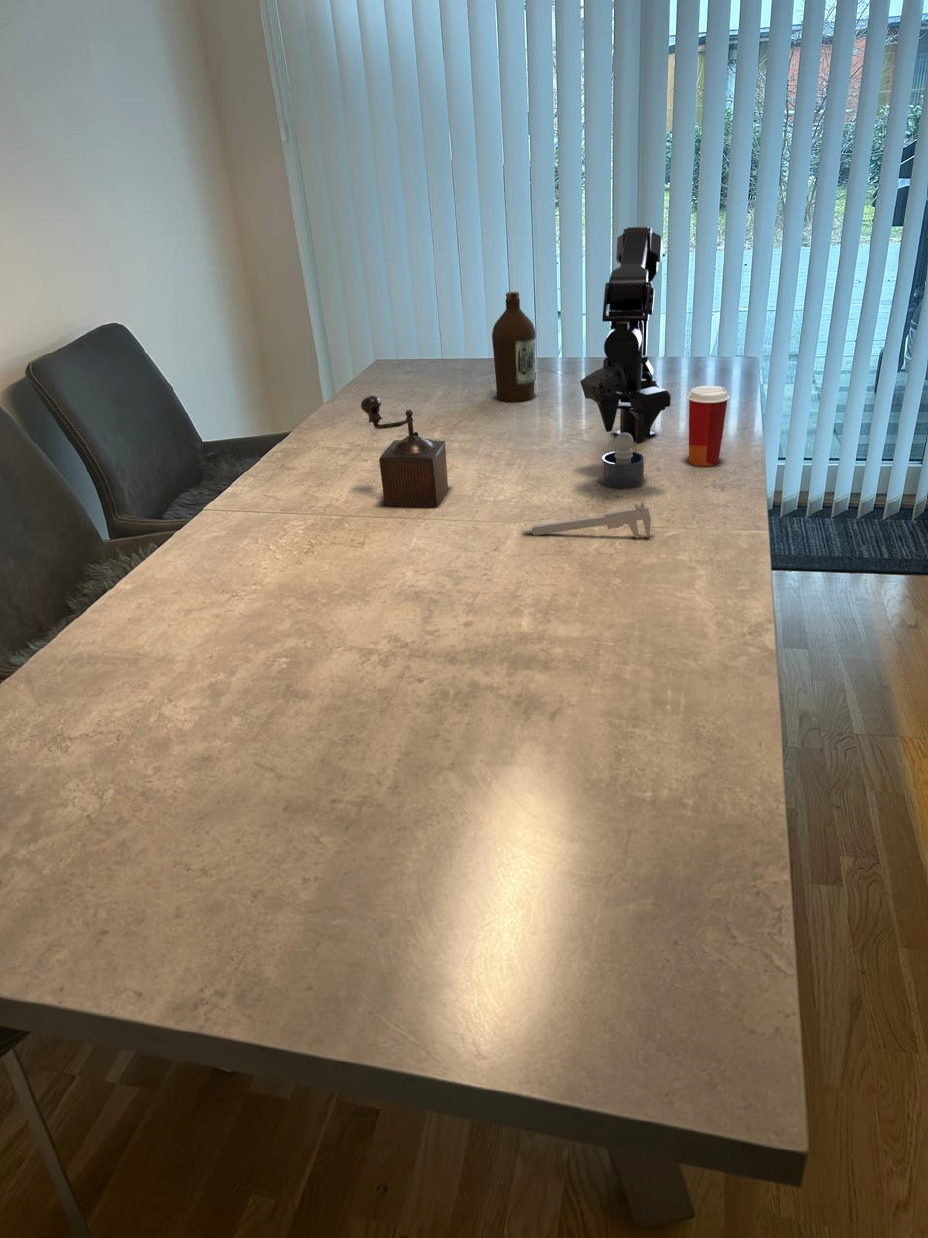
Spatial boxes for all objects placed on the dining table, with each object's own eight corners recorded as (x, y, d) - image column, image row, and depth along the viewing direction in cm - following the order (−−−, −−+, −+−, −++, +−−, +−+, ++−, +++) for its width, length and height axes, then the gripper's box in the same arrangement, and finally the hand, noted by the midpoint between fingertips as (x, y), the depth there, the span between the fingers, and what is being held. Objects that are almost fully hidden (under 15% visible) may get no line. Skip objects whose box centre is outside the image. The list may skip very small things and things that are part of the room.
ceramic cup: (593, 479, 169) (593, 456, 167) (626, 471, 172) (627, 448, 170) (618, 491, 163) (618, 467, 161) (651, 482, 166) (652, 458, 164)
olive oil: (485, 398, 224) (481, 294, 212) (514, 389, 230) (511, 287, 218) (516, 405, 217) (513, 297, 205) (545, 395, 223) (544, 290, 211)
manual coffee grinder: (451, 486, 170) (444, 392, 162) (437, 507, 161) (430, 409, 152) (373, 484, 174) (363, 392, 165) (356, 506, 164) (344, 409, 155)
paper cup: (720, 454, 177) (726, 384, 170) (726, 467, 170) (733, 394, 164) (680, 455, 178) (684, 385, 171) (685, 468, 171) (689, 396, 165)
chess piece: (642, 478, 167) (644, 431, 163) (626, 486, 164) (627, 439, 160) (619, 472, 171) (620, 426, 166) (602, 480, 167) (603, 434, 163)
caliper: (650, 536, 145) (651, 500, 142) (649, 539, 144) (651, 502, 141) (525, 532, 149) (525, 497, 146) (524, 535, 148) (524, 499, 145)
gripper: (558, 349, 160) (559, 433, 168) (621, 368, 145) (619, 459, 153) (608, 339, 164) (607, 422, 172) (675, 357, 150) (670, 446, 157)
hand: (623, 437), depth 163 cm, fingers open, 9 cm apart
